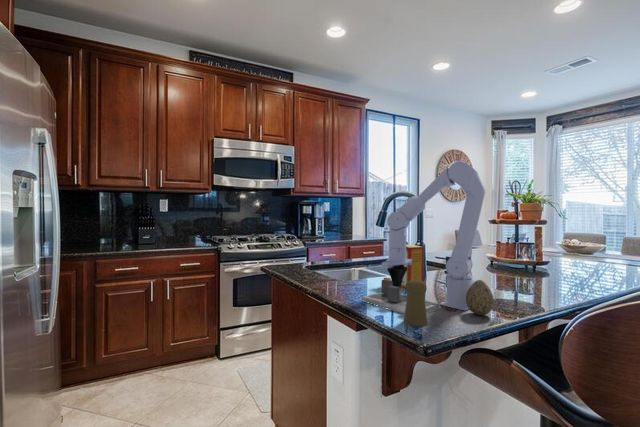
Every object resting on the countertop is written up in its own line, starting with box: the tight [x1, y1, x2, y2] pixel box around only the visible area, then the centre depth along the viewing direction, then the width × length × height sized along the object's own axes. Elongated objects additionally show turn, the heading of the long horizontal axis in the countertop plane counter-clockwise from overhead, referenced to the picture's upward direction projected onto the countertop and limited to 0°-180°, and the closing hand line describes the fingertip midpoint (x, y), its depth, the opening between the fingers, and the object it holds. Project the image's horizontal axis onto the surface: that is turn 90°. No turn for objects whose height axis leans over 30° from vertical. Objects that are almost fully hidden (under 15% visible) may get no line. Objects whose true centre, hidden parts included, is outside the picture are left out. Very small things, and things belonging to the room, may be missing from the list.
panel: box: [361, 291, 440, 315], centre depth 104 cm, size 12×20×2 cm, turn 42°
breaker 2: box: [387, 286, 401, 302], centre depth 102 cm, size 2×3×4 cm, turn 42°
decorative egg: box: [466, 279, 495, 316], centre depth 95 cm, size 7×7×10 cm
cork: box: [403, 280, 428, 327], centre depth 88 cm, size 6×6×11 cm
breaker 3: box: [380, 276, 393, 294], centre depth 111 cm, size 2×3×5 cm, turn 42°
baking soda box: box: [400, 243, 425, 290], centre depth 129 cm, size 10×6×16 cm
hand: (396, 287), depth 115 cm, fingers closed
